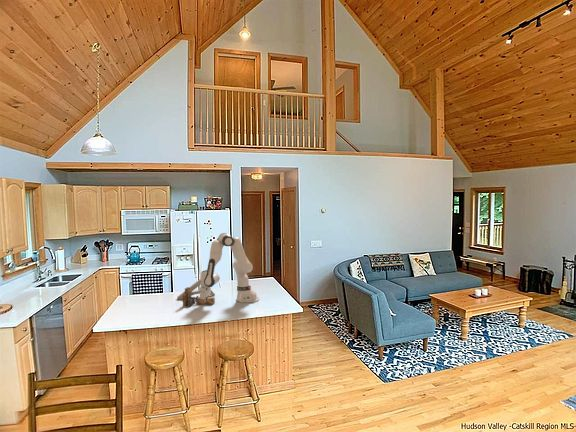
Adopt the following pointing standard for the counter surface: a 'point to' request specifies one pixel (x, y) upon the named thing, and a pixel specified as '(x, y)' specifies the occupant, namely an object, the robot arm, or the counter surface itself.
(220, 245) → the robot arm
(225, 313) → the counter surface
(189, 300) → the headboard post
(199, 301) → the rail
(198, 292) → the wall bracket
